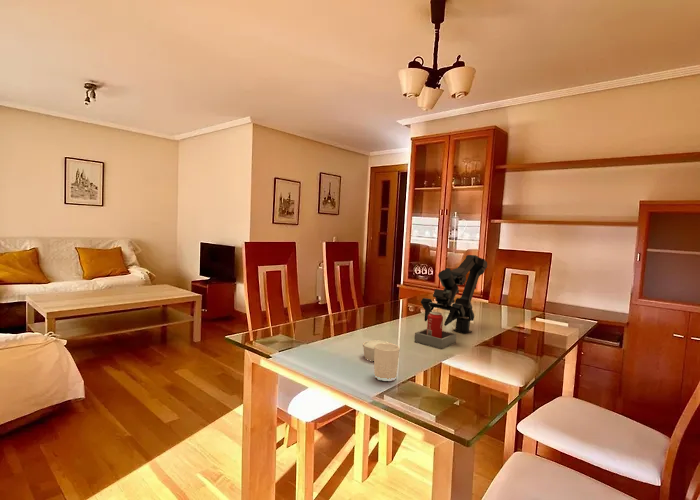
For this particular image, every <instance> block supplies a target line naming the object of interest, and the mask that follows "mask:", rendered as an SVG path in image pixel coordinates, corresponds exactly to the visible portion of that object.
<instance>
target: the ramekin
mask: <svg viewBox="0 0 700 500" xmlns="http://www.w3.org/2000/svg"><path fill="white" fill-rule="evenodd" d="M378 343H390V344H393V343H391V342H390V341H386V340H378V339H376V340H367V341H364V342H363V343H362V347H363V355H364V358H365V360H367V359H368V360H371V361H374V346H375V345H376V344H378ZM368 360H367V361H368ZM371 361H370V362H371Z"/></svg>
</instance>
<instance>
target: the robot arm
mask: <svg viewBox="0 0 700 500" xmlns="http://www.w3.org/2000/svg"><path fill="white" fill-rule="evenodd" d="M487 268H488V262H487V260H486V259H485V258H482V257H479V256H478V255H475V254H467V255H466V256H465V259H464V260H462V262H461V263H460V264H459V266H458V267H456V268H453V269H451V268H450V267H446V268H445V269H443V270H441V271H439V273H438V274H437V276H438V278H439V282H440V283H441V286H442V287H443V290H442V289H437V288H435V289H434V292H433V295H432V297H433V298H435V302H433V300H432V298H426V297H423V298H421V301H420V303H421V305H422V308H423V310H424V322H427V321H428V315H429V314H430V312H433V310H434V309H440V310H445V311H449V313H448V315H447V317H446V318H445V321H444V322H443V325H444V326H445V327H446V326H448V325H449V324H451V323H453V321H455V320H456V321H455V328H454V329H452V330H453V331H455V332H458V333H461V334H469V333H470V334H471V333H472V332H473V330H470V326H471V322H472V321H473V322H474V320H475V313H474V311H473V305H472V299H473V296H474V294H475V290H476V286H477V283H478V281H479V278H480V277H481V276H482V275H483V274H484V273H485V271H486V269H487ZM468 273H469V274H468ZM467 275H468V276H467ZM463 285H464V288H463V291H462V294H461V296H460V297H457V298H456V295H457V294H459V293H460V290H459V286H463ZM455 298H456V299H455Z"/></svg>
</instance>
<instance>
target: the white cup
mask: <svg viewBox="0 0 700 500" xmlns="http://www.w3.org/2000/svg"><path fill="white" fill-rule="evenodd" d="M390 343H391V342H389V343H378V344H376V345H375V346H374V362H373V363H374V364H373V366H374V367H373V369H374V372H373V373H374V374H375V376H377V377H380V378H387V379H389V378H390V379H391V378H395V377H396V378H397V372H398V365H399V358H400V350H401V348H400V346H399V345H397V344H394V343H392V344H390Z"/></svg>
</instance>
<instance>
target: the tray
mask: <svg viewBox="0 0 700 500" xmlns="http://www.w3.org/2000/svg"><path fill="white" fill-rule="evenodd" d="M456 341H457V334H456V333H453V332H449V331H444V330H442V339H441V338H437V337H433V336H429V335H427V328H425V329H423V330H419V331H416V332H414V343H416V344H421V345H424V346H429V347H432V348H435V349H439V350H443V349H446V348H448V347H451V346H452V345H455V344H457V343H456Z"/></svg>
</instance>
